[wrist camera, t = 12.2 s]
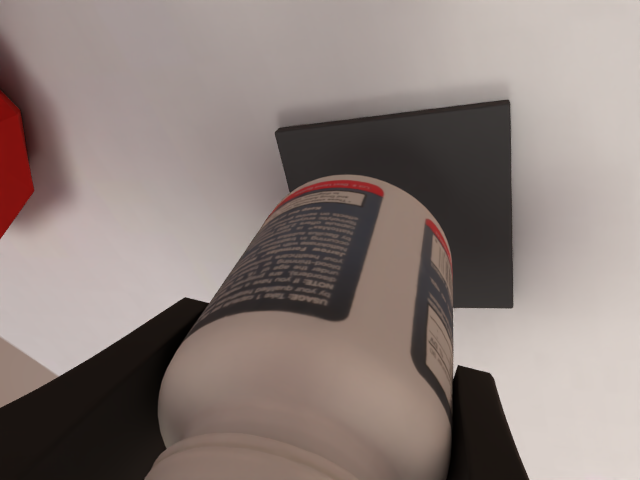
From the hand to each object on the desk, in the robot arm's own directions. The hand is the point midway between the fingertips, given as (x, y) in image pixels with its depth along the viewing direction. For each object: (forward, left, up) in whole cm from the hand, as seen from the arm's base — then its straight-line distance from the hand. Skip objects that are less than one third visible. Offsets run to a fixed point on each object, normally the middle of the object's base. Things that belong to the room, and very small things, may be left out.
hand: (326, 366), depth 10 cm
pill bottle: (0, 0, -4) cm, 4 cm away
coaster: (0, -1, -9) cm, 9 cm away
